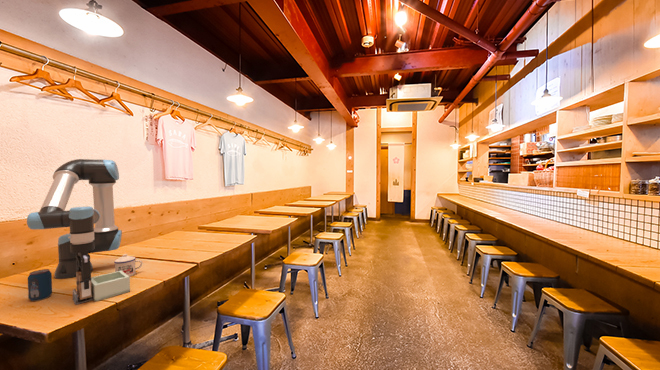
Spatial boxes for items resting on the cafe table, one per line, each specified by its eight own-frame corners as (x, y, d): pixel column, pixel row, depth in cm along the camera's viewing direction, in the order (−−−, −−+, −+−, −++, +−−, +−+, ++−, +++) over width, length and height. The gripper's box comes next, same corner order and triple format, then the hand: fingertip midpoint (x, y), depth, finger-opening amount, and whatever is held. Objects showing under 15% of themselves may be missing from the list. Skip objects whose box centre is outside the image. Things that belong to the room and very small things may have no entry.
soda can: (51, 293, 116) (50, 267, 116) (52, 297, 111) (51, 270, 111) (28, 298, 110) (27, 271, 110) (28, 303, 106) (27, 275, 106)
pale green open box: (88, 293, 115) (88, 278, 115) (121, 284, 125) (121, 270, 125) (95, 301, 107) (94, 285, 107) (130, 291, 116) (129, 276, 116)
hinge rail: (72, 299, 109) (71, 288, 109) (90, 294, 113) (89, 284, 113) (75, 305, 104) (74, 293, 104) (93, 299, 109) (93, 288, 108)
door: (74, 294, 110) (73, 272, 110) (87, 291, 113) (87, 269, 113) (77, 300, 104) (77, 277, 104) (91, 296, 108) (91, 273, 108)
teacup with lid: (114, 280, 130) (113, 258, 130) (114, 275, 137) (114, 254, 137) (143, 274, 138) (142, 253, 138) (142, 270, 145) (141, 250, 145)
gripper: (66, 240, 112) (68, 289, 113) (74, 248, 99) (76, 303, 99) (89, 237, 118) (90, 284, 119) (99, 244, 105) (101, 296, 105)
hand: (84, 293), depth 109 cm, fingers closed on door, 9 cm apart
